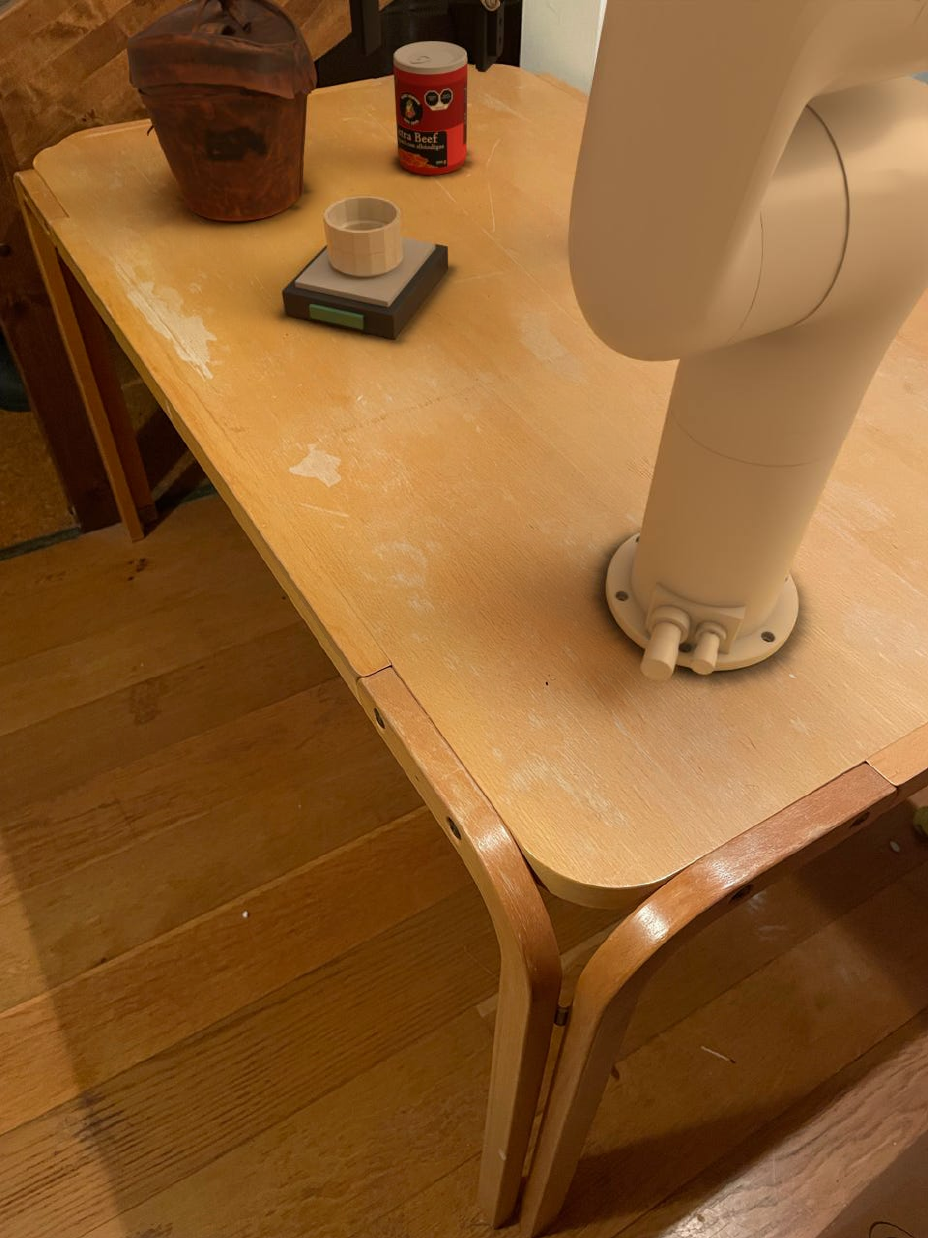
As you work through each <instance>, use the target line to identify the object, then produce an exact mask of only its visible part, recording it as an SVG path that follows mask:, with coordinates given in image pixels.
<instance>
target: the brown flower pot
mask: <svg viewBox="0 0 928 1238" xmlns="http://www.w3.org/2000/svg"><path fill="white" fill-rule="evenodd" d="M125 48H126V49H125V50H126V52H127V53H126V54H127V61H128V75H129V76H128V77H129V83H130V85H131V87H132V88H135V89H137V92H138V95H139V96H140V98H141V102H142V103H143V105H144V107H145V109H146V113H147V115H148V118H149V120H150V123H151V125H150V127H149V128H148V129H147V131H146V136H147V137H149V134H150V133H151V132H152V130H154V132H155V135H156V137H157V140H158V143H159V146H160V148H161V150H162V152H163V154H164V156H165V159H166V161H167V163H168V166H169V169H170V171H171V173H172V175H173V179H174V180H175V182H176V185H177V187H178V190H179V192H180V194H181V197H182V199H183V201H184V203H185V205H186V206H187V208H188V209H189V210H190V211H191V212H193V213H194V214H197V215H198V216H201V217H203V218H206V219H210V220H214V221H218V222H219V221H220V222H248V221H255V220H260V219H264V218H268V217H272V216H274V215H276V214H277V215H278V214H279V213H282V212H283V211H285V210H287V209H288V208H289V209H290V207H292V205H294V204H295V203H296V202H297V201H298V200H299V199H300V198H302V196H303V195H304V191H305V188H304V164H305V163H304V161H305V159H304V158H305V146H306V130H307V129H306V128H307V114H308V113H307V111H308V109H307V108H308V96H309V95H312V92H313V91H315V90H316V88H317V84H318V83H317V82H318V76H317V75H318V74H317V70H316V66H315V63H314V59H313V57H312V54H311V51H310V48H309V46H308V44H307V42H306V40H305V38H304V35H303V33H302V30H301V28H300V26H299V24H298V23H297V21H296V19H295V18H294V17H293V15H292V14H291V13H290V12H289V11H288V10H287V9H286V8H285V7H284V6H282V5H281V4H279V3H277V2H276V1H274V0H190V1H187V2H185V3H183V4H181V5H180V6H178V7H176V8H174V9H172V10H170V11H168V12H166V13H164V14H163V15H161V16H160V17H158V18H157V19H155V20H154V21H153V22H152V23H150V24H149V25H148V26H146V27H144V28H143V29H142V30H139V32H137V33H136V34H135V35H133V36H131V37H128V38H127V40H126V42H125Z"/></svg>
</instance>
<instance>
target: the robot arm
mask: <svg viewBox="0 0 928 1238" xmlns="http://www.w3.org/2000/svg"><path fill="white" fill-rule="evenodd" d="M505 2H506V0H480V4H481V6H480V7H479V8H478V9H477V10H476V12H475V32H474V33H475V38H474V39H475V45H474V46H475V51H474V52H475V54H474V55H475V57H474V59H475V62H474V67H475V68H474V69H475V70H476V71H477V73H478V72H479V73H486V72H487V71H488V70H489V69H490V68H491V67H492V66H493V65H494V64H495V63H496V62H497V59H498V58H499V57H500V56H501V55H502V53H503V49H504V28H505V27H504V26H505ZM348 5H349V17H350V28H351V29H350V30H351V36H352V39H353V40H355V45H356V54H357V56H358V57H360V58H366V57H367V56H369V55H370V54H372V53H373V52H374V51H375V50H377V48H379V47H380V46H381V44H382V29H381V12H380V0H348ZM604 9H605V10H604V15H603V22H602V26H601V32H600V36H599V42H598V43H599V44H598V48H597V53H596V59H595V64H594V69H593V75H592V79H591V86H590V91H589V97H588V102H587V107H586V113H585V118H584V123H583V130H582V133H581V134H582V135H581V140H580V146H579V150H578V155H577V162H576V168H575V173H574V179H573V180H574V181H573V185H572V191H571V200H570V207H569V218H568V237H567V239H568V240H567V242H568V244H567V245H568V247H567V248H568V264H569V272H570V278H571V283H572V287H573V292H574V295H575V299H576V303H577V305H578V307H579V310H580V312H581V314H582V316H583V319H584V320H585V322H586V324H587V326H588V327H589V328H590V330H591V331H592V333H593V335H595V336H596V337H597V338H598V339H599V340H600V342H602V343H603V344H604V345H605V346H606V347H608V348H609V349H610V350H612V351H614V352H615V353H618V354H619V355H621V356H625V357H627V358H628V359H633V360H636V361H641V362H642V361H643V362H650V363H652V362H669V361H678V363H677V366H676V370H675V374H674V378H673V383H672V387H671V391H670V396H669V400H668V405H667V409H666V414H665V418H664V424H663V426H662V431H661V436H660V440H659V445H658V450H657V455H656V458H655V463H654V468H653V471H652V472H653V473H652V478H651V482H650V487H649V490H648V494H647V495H648V496H647V500H646V505H645V508H644V513H643V518H642V522H641V527H640V530H639V531H638V532H636V533H635V534H633V535H631V536H629V538H628V539H626V540H625V541H624V542H623V543H622V544H621V545H620V546H619V547H618V548H617V550H616V551H615V553H614V554H613V556H612V558H611V560H610V562H609V565H608V568H607V572H606V573H607V574H606V579H605V598H606V601H607V605H608V608H609V611H610V612H611V614H612V616H613V618H614V619H615V622H616V624H617V625H618V626H619V627H620V628H621V630H622V631H623V632H624V633H625V635H626V636H627V637H628V638H630V639H631V640H632V641H633V642H634V643H636V644H637V645H638V646H639V647H640V648H642V649H643V650H644V654H643V656H642V660H641V664H640V666H639V668H640V670H641V673H642V674H643V675H644V676H646V677H647V678H649V679H652V680H655V681H665V680H668V679H671V676H673V673H674V671H675V670H674V669H675V666H676V665H677V666H681V667H685V668H688V669H692V671H693V672H695V673H697V674H698V675H703V676H706V675H710V674H712V673H713V672H714V671H715V672H717V671H732V670H733V671H734V670H737V669H743V668H747V667H750V666H753V665H755V664H758V663H760V662H762V661H764V660H766V659H768V658H769V657H770V656H772V655H773V654H774V653H776V652H777V651H779V649H780V648H781V647H782V646H783V645H784V644H785V643H786V642H787V640H788V638H789V636H790V634H791V633H792V631H793V628H794V626H795V624H796V621H797V618H798V615H799V601H800V600H799V595H798V590H797V586H796V584H795V582H794V579H793V577H792V575H791V573H790V570H791V568H792V566H793V563H794V561H795V559H796V556H797V554H798V551H799V549H800V547H801V545H802V542H803V540H804V538H805V535H806V532H807V530H808V528H809V526H810V523H811V521H812V519H813V516H814V513H815V511H816V509H817V507H818V504H819V502H820V500H821V497H822V495H823V492H824V490H825V488H826V485H827V482H828V480H829V478H830V475H831V473H832V471H833V468H834V466H835V464H836V462H837V459H838V457H839V455H840V452H841V449H842V448H843V445H844V443H845V441H846V439H847V438H848V435H849V433H850V432H851V428H852V426H853V423H854V421H855V418H856V417H857V415H858V412H859V409H860V407H861V405H862V403H863V400H864V398H865V395H866V393H867V392H868V389H869V387H870V385H871V383H872V381H873V379H874V377H875V375H876V373H877V371H878V368H879V366H880V365H881V363H882V362H883V359H884V357H885V356H886V354H887V351H888V350H889V348H890V346H891V345H892V343H893V341H894V340H895V339H896V337H897V336H898V334H899V332H900V331H901V328H903V325H904V324H905V322H907V319H908V318H909V317H910V315H911V314H912V312H913V310H914V309H915V307H916V306H917V305H918V303H919V301H920V300H921V298H922V297H923V295H924V294H925V292H926V291H927V289H928V84H927V83H925V82H924V81H922V80H919V79H916V78H914V77H911V76H913V75H916V74H921V73H925V72H928V0H606V4H605V8H604Z"/></svg>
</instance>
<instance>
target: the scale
mask: <svg viewBox="0 0 928 1238" xmlns="http://www.w3.org/2000/svg"><path fill="white" fill-rule="evenodd" d="M402 240H403V260H402V261H401V262H400V263H399V265H398V266H397V267H396V268H394V269H392V270H390V271H389V272H387V273H385V274H382V275H379V276H374V277H355V276H350V275H348V274H345V273H343V272H341V271H339V270H337V269H336V268H334V267H333V266H332V265H331V263H330V262H329V260H328V252H327V244H325V245H324V247H323V248H322V249H321V250H319V252H318V253H317V254H316V255H315V256H314V257H313V258H312V259H311V260H310V261H309V262H308V263H307V264H306V265H305V266H304V267H303V269H301V270H300V271H299V273H298V274H297V275H295V277H294V278H293V279H292V280H290V282H289V283H287V285H286V286H285V287H284V288H283V289H282V290H281V295H282V301H283V306H284V313H285V315H286V316H290V317H295V318H298V319H303V320H308V321H312V322H317V323H321V324H324V325H325V324H326V325H329V326H335V327H338V328H342V329H347V330H351V331H356V332H361V333H365V334H368V335H372V336H373V335H374V336H378V337H382V338H386V339H390V340H396V338H397V337H398V335H399V334H400V333H401V332H402V330H403V329H404V328H405V327H406V325H407V324H408V323H409V321H410V320H411V318H413V316H414V315H415V313H416V312H417V311H418V310H419V308H420V307H421V306H422V304H423V303H424V301H425V300H426V299H427V298H428V296H429V295H430V293H431V292H432V291H433V290H434V289H435V287H436V286H437V285H438V283H439V282H440V281H441V279H442V278H443V277H444V275H445V274H446V273H447V272H448V270H449V246H448V245H444V244H439V243H435V242H431V241H426V240H421V239H420V240H419V239H416V238H411V237H406V236H402Z"/></svg>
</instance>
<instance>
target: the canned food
mask: <svg viewBox="0 0 928 1238" xmlns="http://www.w3.org/2000/svg"><path fill="white" fill-rule="evenodd" d="M392 63H393V84H394V103H395V104H394V105H395V122H396V140H397V156H398V159H399V162H400V164H401V166H402V167H403V168H404V169H405V170H406V171H408V172H411V173H413V174H417V175H422V176H423V175H424V176H438V175H439V176H440V175H445V174H449V173H452V172H455V171H457V170H458V169H460V168H462V166H463V165H464V163H465V160H466V157H467V148H468V147H467V142H468V141H467V139H468V137H467V136H468V54H467V51H466V49H465V48H463V47H461V46H459V45H457V44H454V43H451V42H448V41H447V42H446V41H435V40H434V41H432V40H430V41H418V42H413V43H409V44H406V45H404V46H402V47H400V48H398V49H396V50H395V52H394V53H393V62H392Z"/></svg>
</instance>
